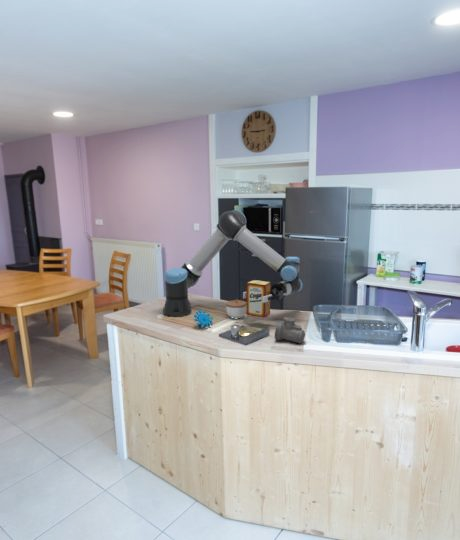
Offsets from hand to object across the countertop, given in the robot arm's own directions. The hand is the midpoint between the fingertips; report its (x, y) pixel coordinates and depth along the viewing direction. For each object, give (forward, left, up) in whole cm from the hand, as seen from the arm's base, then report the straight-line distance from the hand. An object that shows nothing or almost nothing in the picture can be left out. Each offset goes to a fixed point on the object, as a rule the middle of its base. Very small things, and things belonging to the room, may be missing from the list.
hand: (253, 297), depth 181 cm
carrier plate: (+4, -11, -15) cm, 19 cm away
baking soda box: (0, +4, -9) cm, 10 cm away
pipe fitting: (+23, -3, -15) cm, 28 cm away
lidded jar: (-17, +7, -15) cm, 24 cm away
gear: (-19, -14, -15) cm, 28 cm away
